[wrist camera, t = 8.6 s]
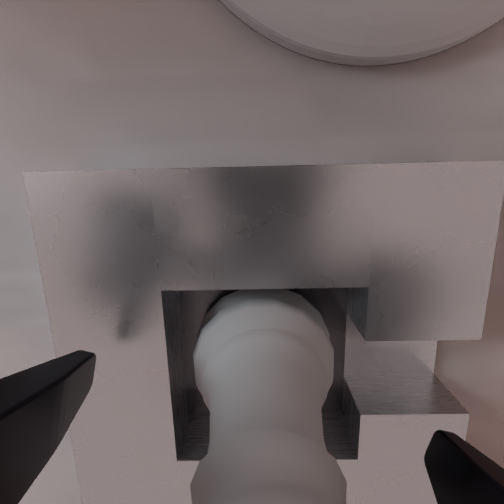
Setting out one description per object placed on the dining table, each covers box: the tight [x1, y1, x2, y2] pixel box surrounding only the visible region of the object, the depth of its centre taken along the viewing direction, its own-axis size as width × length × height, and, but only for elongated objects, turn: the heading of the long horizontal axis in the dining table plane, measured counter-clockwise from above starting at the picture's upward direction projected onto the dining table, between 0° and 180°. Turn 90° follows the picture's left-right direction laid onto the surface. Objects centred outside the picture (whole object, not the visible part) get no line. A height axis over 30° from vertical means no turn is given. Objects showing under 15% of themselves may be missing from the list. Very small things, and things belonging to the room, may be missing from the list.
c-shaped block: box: [23, 161, 504, 504], centre depth 11 cm, size 12×12×2 cm
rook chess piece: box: [190, 289, 347, 504], centre depth 7 cm, size 4×4×8 cm
